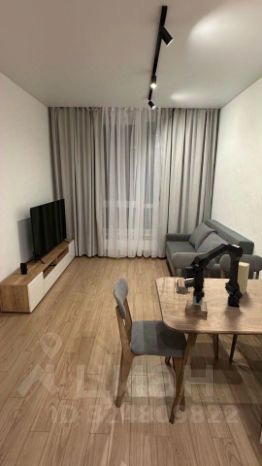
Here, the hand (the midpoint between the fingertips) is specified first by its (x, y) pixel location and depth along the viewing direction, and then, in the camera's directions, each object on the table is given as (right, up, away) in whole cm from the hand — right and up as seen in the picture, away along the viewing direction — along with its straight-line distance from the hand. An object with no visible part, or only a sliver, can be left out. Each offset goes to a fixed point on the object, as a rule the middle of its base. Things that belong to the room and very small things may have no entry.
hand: (197, 300), depth 153 cm
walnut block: (0, -7, +1) cm, 7 cm away
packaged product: (-2, 0, +35) cm, 35 cm away
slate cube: (0, -1, 0) cm, 1 cm away
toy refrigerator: (+39, -1, +29) cm, 49 cm away
